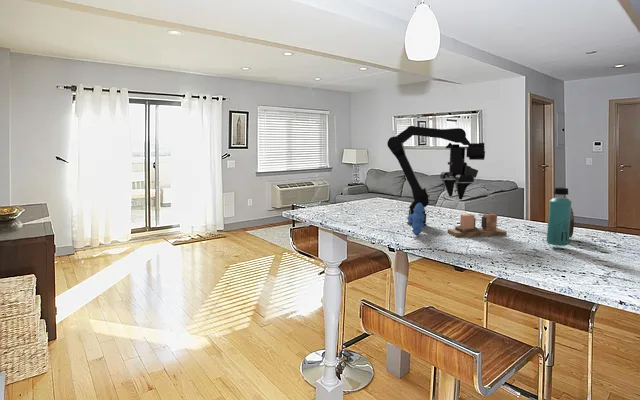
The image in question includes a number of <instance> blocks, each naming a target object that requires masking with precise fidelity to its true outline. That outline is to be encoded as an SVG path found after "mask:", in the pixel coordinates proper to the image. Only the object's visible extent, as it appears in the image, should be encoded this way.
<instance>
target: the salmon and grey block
mask: <svg viewBox="0 0 640 400" xmlns="http://www.w3.org/2000/svg"><path fill="white" fill-rule="evenodd" d="M476 219H477V218H476V217H475V215H474V214H471V213H468V214H466V213H465V214H463V213H462V214H460V221H459V222H460V223H459V226H460V228H462V229H475V227H476Z"/></svg>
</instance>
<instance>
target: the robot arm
mask: <svg viewBox="0 0 640 400" xmlns="http://www.w3.org/2000/svg"><path fill="white" fill-rule="evenodd" d="M413 136H417V137H418V136H419V137H426V138H434V139H435V138H436V139H441V140H442V139H443V140H446V141H449V142H448V144H447V145H446V146H445V148H446V149H449V161H447V165H448V166H449V167H448V168H449V170H448V171H442V172H441V173H440V175H439V176H440V179H441V181H442V183H443V185H444V187H445V190H446V192H447V195H448V196H449V197H453V194H454V193H453V192H454V187H455V188H456V194H457V196H458V199H459V200H463V198H464V195H465V192H466V190H467V187H468V186H470V185H471V184H473V183H474V182H475V179H476V178H477V176H478V173H479V170H478V169H475V168H473V167H471V166H470V165H468V162H465V161H466V160H465V157H466V158H468V160H469V161H470V160H471V161H484V160H485V157H486V156H485V155H486V151H485V142H479V143H475V142H474V143H471V142H470V140H468V138H467V133H466V131H465V130H464V128H460V127H457V128H432V127H424V126H414V125H409V126H408V127H406V129H405V130H403V131H401V132H399V134H398V135H395V136H391V137H390V138H388V140H387V142H386V143H387V147H388V149H389V150H390V152H391V153H392V154H393V156H394V157H395V158H396V159H397V161H398V163H399V165H400V168H401V170H402V172H403V175H404V177H405V178H406V180H407V182H408V185H409V186H410V187H409V188H410V189H411V193H412V197H413V202H411V203H410V205H409V209H408V216H409V215H411V214H413V213H414V211H413V209H414V208H415V206H416V204H418V203H421V204H422V205H423V207H424V208H426V207H428V205H429V203H430V194H429V192H428V190H427V187H426V186H425V187H422V185H421V184H420V182H419V180H418V178H417V176H416V173H415V171H414V170H413V167H412V165H411V163H410V161H409V159H408V157H407V155H406V150H405V149H406V148H405V146H404V143H405V142H407V140H409V139H410V138H411V137H413ZM457 143H458V144H457ZM459 143H460V144H462V145H463V146H460V144H459ZM422 213H423V214H424V215H425V217H424V219H425V220H424V221H423V223H424V226H427V213H426V209H425V210H424V211H423V212H422ZM406 224H408V225H409V226H411V225H412V224H413V223H410V222H409V221H408V220H407V222H406ZM424 226H423V227H424Z"/></svg>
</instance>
